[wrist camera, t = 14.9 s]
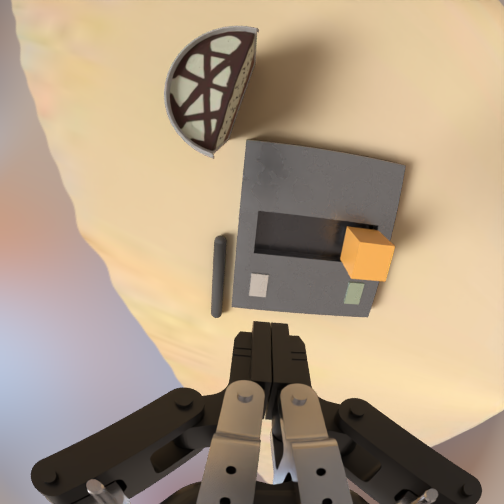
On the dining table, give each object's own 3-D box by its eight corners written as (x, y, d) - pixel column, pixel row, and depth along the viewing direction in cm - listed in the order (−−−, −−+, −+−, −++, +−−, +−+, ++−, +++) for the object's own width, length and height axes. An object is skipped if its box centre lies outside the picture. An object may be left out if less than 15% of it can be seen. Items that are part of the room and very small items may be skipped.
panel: (247, 139, 32) (246, 140, 30) (398, 163, 32) (406, 165, 30) (232, 298, 40) (231, 307, 38) (363, 309, 40) (368, 318, 38)
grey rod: (215, 233, 36) (214, 237, 35) (227, 234, 36) (226, 238, 35) (211, 313, 41) (210, 319, 39) (222, 314, 41) (220, 320, 39)
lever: (343, 222, 35) (359, 241, 29) (374, 226, 35) (395, 246, 29) (337, 253, 36) (351, 278, 30) (367, 256, 36) (385, 281, 30)
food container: (207, 39, 28) (187, 8, 18) (259, 52, 28) (259, 23, 19) (173, 137, 32) (140, 142, 23) (224, 152, 33) (210, 160, 24)
